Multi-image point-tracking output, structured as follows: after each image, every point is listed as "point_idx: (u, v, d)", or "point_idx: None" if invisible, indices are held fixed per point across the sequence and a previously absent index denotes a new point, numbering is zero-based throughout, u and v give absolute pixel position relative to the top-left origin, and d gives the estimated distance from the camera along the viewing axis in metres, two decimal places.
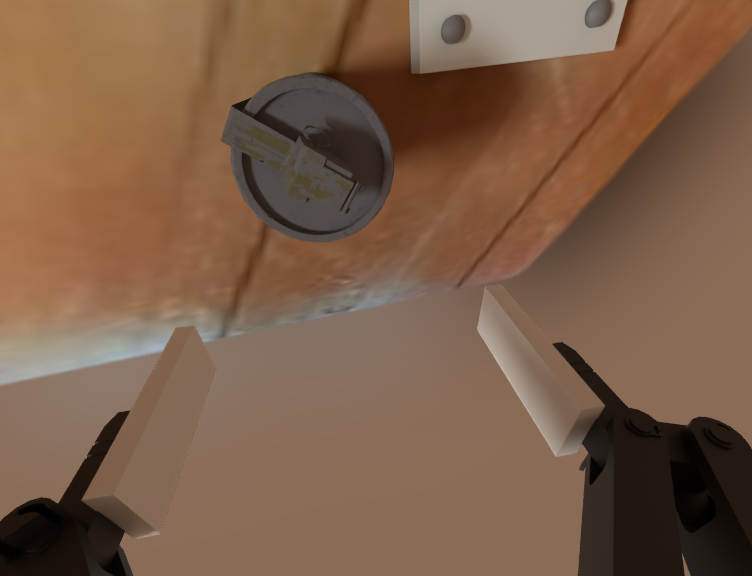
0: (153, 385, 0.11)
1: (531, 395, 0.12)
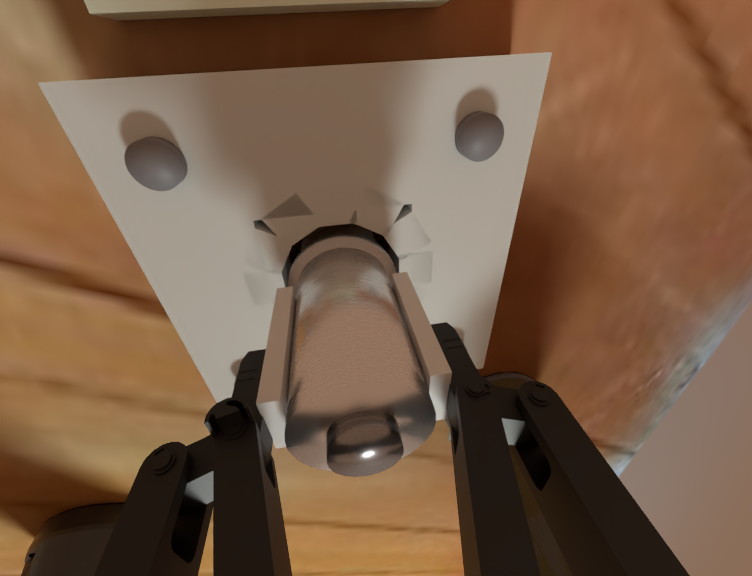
0: (277, 328, 0.13)
1: None
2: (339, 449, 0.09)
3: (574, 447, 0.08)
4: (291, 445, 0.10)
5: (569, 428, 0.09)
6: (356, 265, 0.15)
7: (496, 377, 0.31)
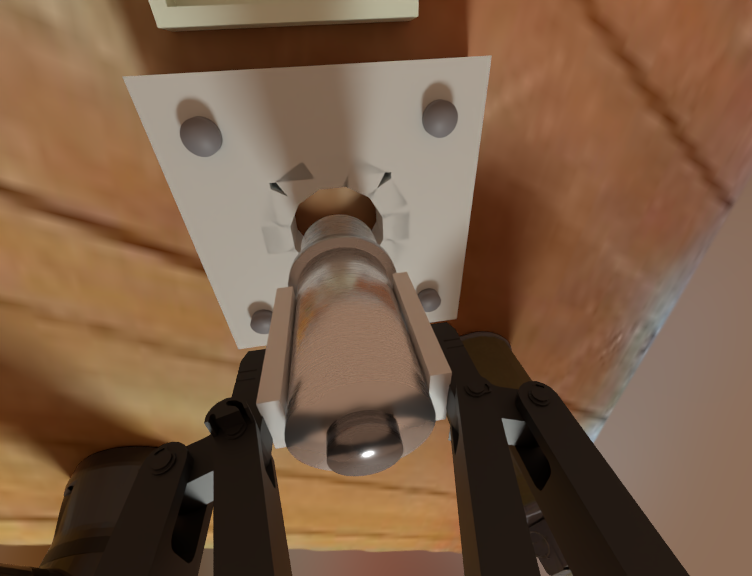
0: (277, 328, 0.13)
1: None
2: (339, 449, 0.09)
3: (574, 447, 0.08)
4: (291, 445, 0.10)
5: (569, 428, 0.09)
6: (356, 265, 0.15)
7: (472, 335, 0.36)
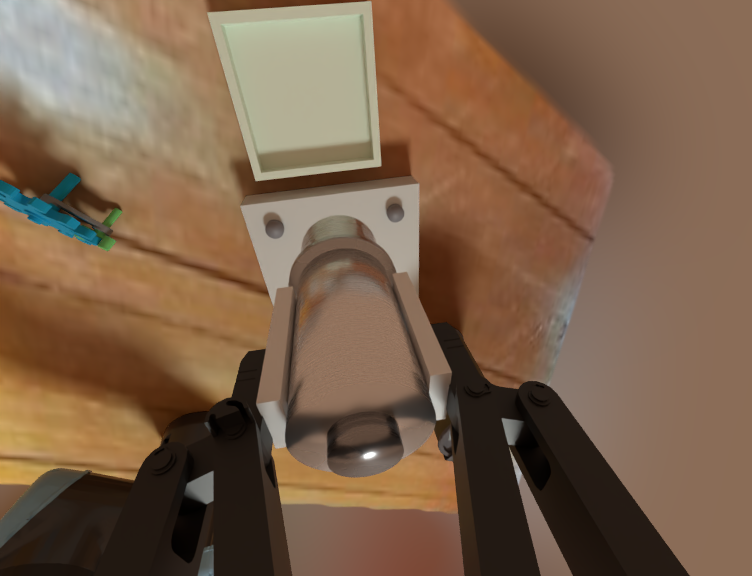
0: (277, 328, 0.13)
1: None
2: (340, 450, 0.09)
3: (574, 447, 0.08)
4: (291, 446, 0.10)
5: (569, 428, 0.09)
6: (356, 266, 0.15)
7: None
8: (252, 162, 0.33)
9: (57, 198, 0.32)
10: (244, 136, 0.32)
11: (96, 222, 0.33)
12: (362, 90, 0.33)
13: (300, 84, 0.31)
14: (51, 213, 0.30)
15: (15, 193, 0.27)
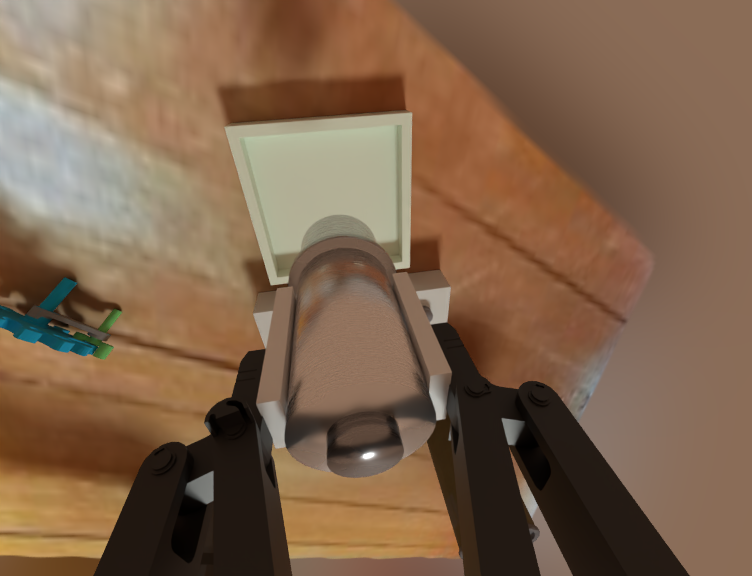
0: (277, 328, 0.13)
1: None
2: (340, 450, 0.09)
3: (574, 447, 0.08)
4: (291, 446, 0.10)
5: (569, 428, 0.09)
6: (356, 265, 0.14)
7: None
8: (268, 268, 0.30)
9: (49, 309, 0.28)
10: (260, 244, 0.28)
11: (92, 330, 0.30)
12: (393, 193, 0.29)
13: (325, 188, 0.28)
14: (41, 336, 0.26)
15: (0, 324, 0.24)
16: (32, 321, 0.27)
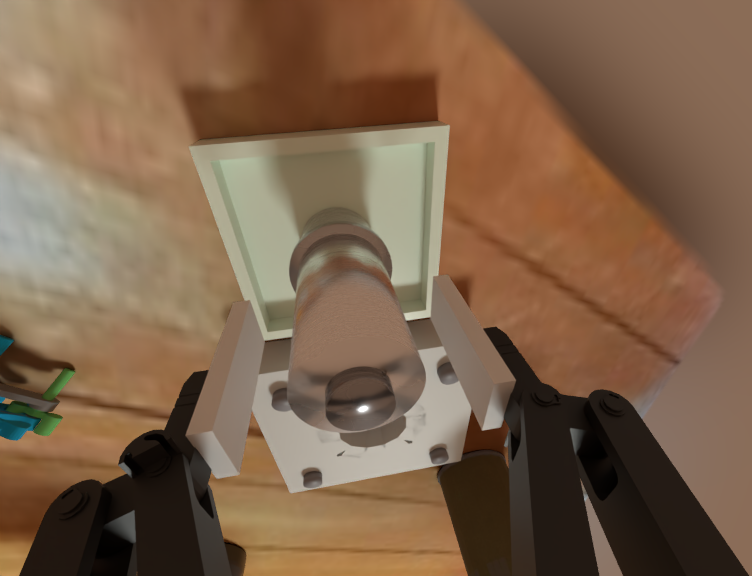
0: (225, 348, 0.12)
1: (465, 376, 0.13)
2: (337, 400, 0.10)
3: (648, 462, 0.08)
4: (293, 401, 0.11)
5: (645, 442, 0.08)
6: (352, 248, 0.16)
7: (473, 454, 0.44)
8: None
9: None
10: (245, 294, 0.22)
11: (33, 400, 0.23)
12: (417, 226, 0.23)
13: None
14: None
15: None
16: None
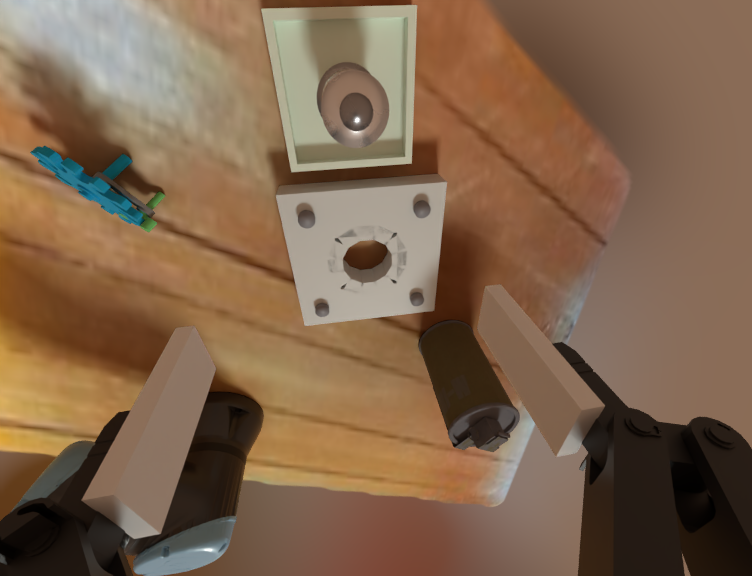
0: (153, 385, 0.11)
1: (531, 396, 0.12)
2: (345, 102, 0.22)
3: None
4: (323, 113, 0.23)
5: None
6: None
7: (446, 322, 0.55)
8: (290, 154, 0.35)
9: (109, 177, 0.33)
10: (284, 128, 0.33)
11: (142, 204, 0.35)
12: (399, 89, 0.34)
13: None
14: (106, 193, 0.31)
15: (79, 171, 0.29)
16: None
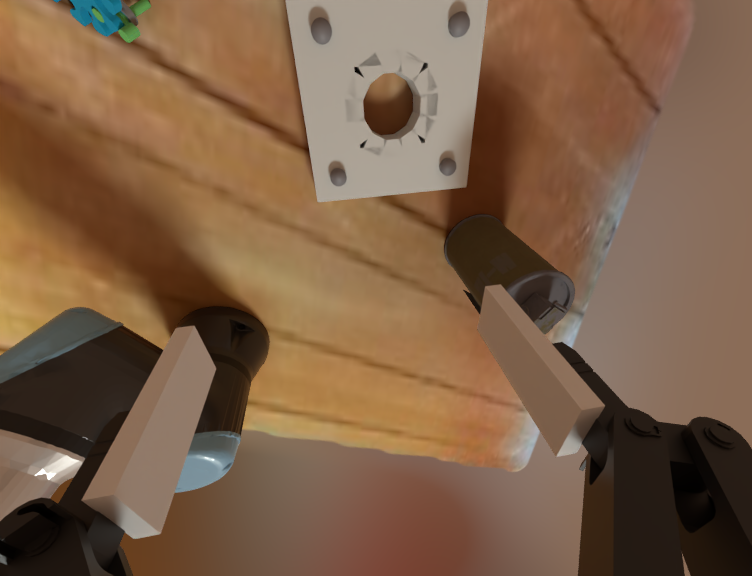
0: (153, 385, 0.11)
1: (531, 395, 0.12)
2: None
3: None
4: None
5: None
6: None
7: (477, 216, 0.49)
8: None
9: None
10: None
11: (121, 1, 0.28)
12: None
13: None
14: None
15: None
16: None
